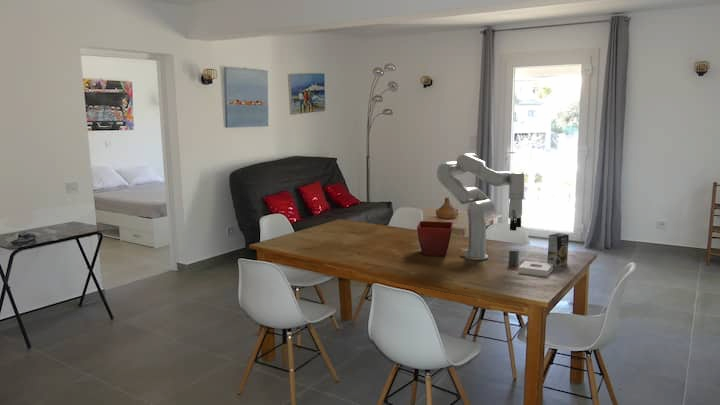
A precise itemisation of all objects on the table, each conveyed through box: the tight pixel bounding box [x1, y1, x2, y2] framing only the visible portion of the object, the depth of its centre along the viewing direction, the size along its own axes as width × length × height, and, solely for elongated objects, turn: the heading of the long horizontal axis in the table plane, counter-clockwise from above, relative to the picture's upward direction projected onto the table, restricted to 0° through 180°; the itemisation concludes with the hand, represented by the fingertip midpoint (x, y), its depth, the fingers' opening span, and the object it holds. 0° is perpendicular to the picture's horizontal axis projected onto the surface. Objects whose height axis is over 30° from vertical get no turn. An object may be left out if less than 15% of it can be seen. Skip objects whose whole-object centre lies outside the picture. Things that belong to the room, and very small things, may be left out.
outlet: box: [517, 260, 554, 277], centre depth 281 cm, size 14×14×3 cm
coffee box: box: [546, 232, 570, 268], centre depth 293 cm, size 9×6×16 cm
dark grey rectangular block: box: [508, 248, 520, 267], centre depth 293 cm, size 4×4×8 cm
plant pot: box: [416, 220, 454, 257], centre depth 318 cm, size 19×19×17 cm
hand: (515, 228), depth 290 cm, fingers open, 9 cm apart
